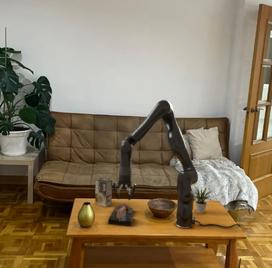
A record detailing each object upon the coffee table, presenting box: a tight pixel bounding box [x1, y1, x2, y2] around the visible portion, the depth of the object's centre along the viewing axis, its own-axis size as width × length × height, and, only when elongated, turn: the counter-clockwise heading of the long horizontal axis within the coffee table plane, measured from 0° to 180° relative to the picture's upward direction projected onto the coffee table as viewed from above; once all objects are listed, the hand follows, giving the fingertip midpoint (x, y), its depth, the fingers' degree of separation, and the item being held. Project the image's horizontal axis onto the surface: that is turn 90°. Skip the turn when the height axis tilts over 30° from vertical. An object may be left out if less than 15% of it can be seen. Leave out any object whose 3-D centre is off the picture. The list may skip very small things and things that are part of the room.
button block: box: [112, 204, 134, 215], centre depth 223 cm, size 11×9×4 cm
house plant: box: [194, 186, 212, 214], centre depth 229 cm, size 14×14×16 cm
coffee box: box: [94, 177, 113, 208], centre depth 234 cm, size 9×6×16 cm
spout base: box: [107, 212, 135, 227], centre depth 210 cm, size 13×12×3 cm
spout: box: [117, 206, 126, 220], centre depth 209 cm, size 8×2×5 cm, turn 158°
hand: (123, 199), depth 221 cm, fingers open, 6 cm apart
